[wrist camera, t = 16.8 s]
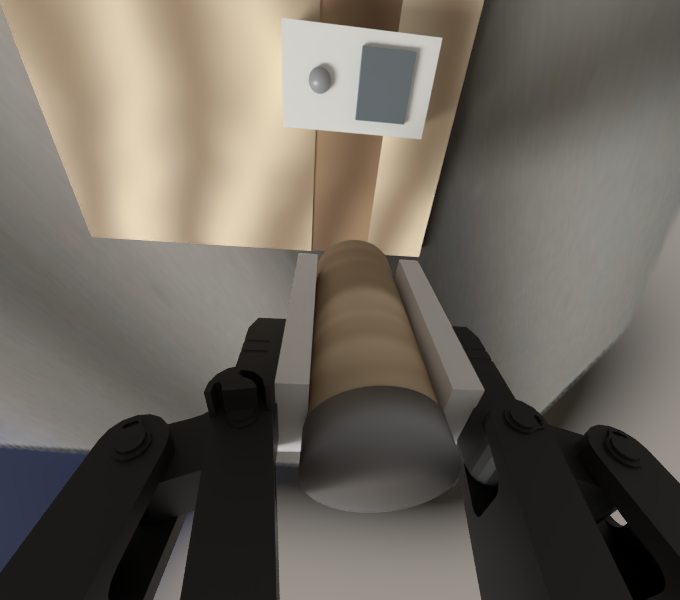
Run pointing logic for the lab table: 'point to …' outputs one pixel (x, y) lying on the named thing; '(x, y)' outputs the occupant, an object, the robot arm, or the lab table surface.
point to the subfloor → (230, 121)
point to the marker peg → (370, 394)
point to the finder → (356, 79)
